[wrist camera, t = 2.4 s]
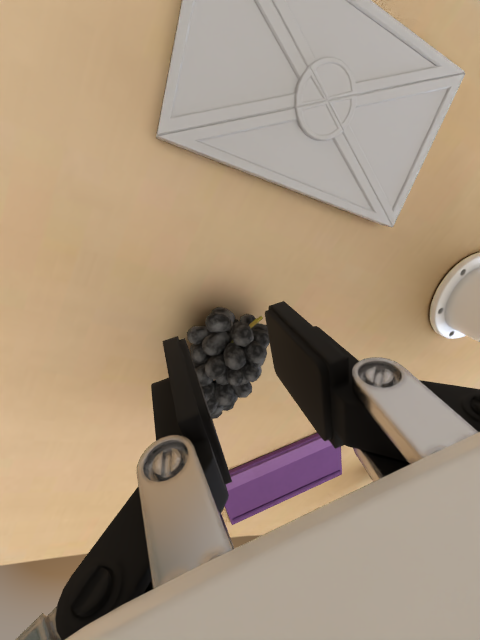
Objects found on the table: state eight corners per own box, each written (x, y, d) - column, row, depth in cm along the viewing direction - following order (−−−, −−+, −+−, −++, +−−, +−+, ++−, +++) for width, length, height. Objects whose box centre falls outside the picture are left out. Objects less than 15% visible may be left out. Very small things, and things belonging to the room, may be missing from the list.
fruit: (222, 476, 29) (293, 345, 24) (139, 449, 28) (197, 306, 23) (226, 417, 37) (279, 311, 33) (161, 395, 36) (208, 281, 31)
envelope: (200, -99, 19) (155, 138, 24) (207, -128, 17) (157, 135, 22) (446, 78, 28) (379, 224, 33) (468, 71, 26) (394, 227, 31)
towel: (337, 423, 46) (341, 428, 46) (339, 471, 52) (343, 475, 51) (213, 476, 43) (215, 482, 42) (231, 521, 49) (232, 527, 48)
